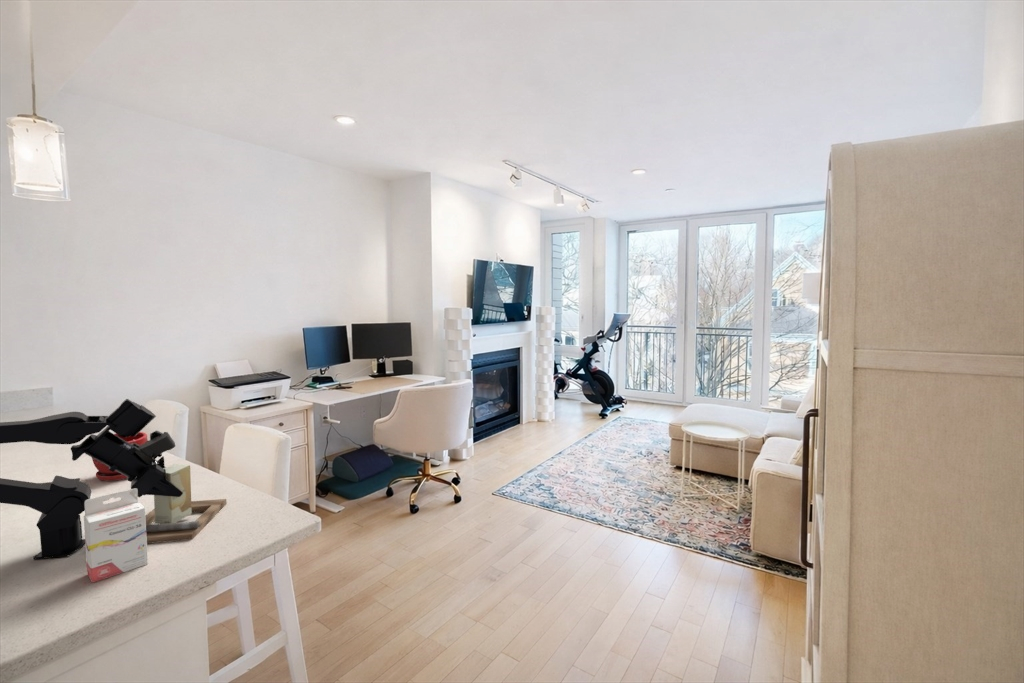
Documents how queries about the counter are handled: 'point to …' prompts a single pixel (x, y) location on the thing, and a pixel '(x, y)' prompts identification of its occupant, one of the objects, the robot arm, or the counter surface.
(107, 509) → the ink cartridge box
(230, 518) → the counter surface
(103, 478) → the plant pot
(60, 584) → the counter surface
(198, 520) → the shelf frame
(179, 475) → the skincare box
